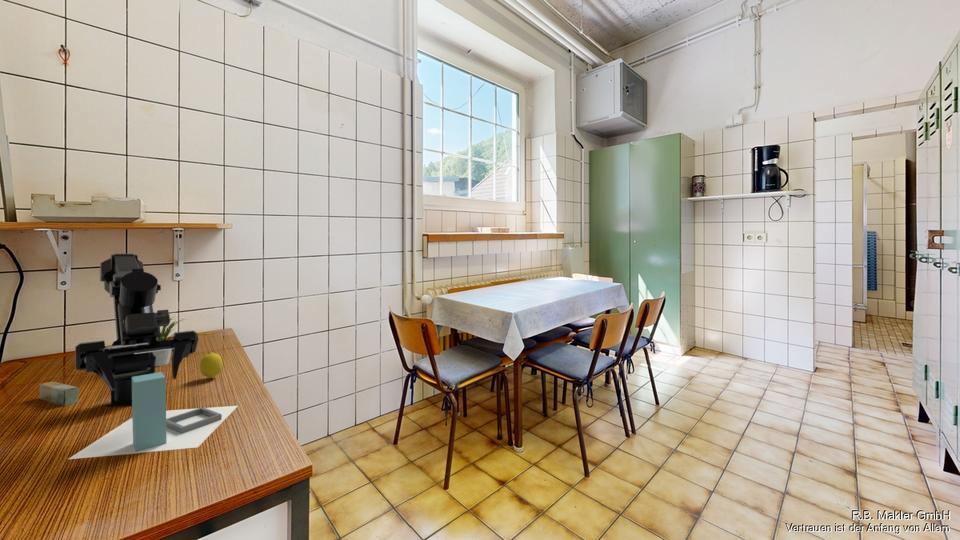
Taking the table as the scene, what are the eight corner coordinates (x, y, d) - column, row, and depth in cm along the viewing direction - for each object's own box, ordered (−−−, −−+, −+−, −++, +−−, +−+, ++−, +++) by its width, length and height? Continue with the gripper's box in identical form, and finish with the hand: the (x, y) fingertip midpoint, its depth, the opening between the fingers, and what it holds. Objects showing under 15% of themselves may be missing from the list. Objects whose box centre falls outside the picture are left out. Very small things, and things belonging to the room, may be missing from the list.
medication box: (79, 403, 93) (79, 387, 93) (64, 406, 91) (64, 390, 91) (53, 395, 98) (53, 380, 98) (38, 399, 95) (38, 383, 95)
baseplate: (67, 464, 66) (67, 459, 66) (139, 416, 86) (139, 412, 86) (197, 452, 71) (197, 447, 71) (238, 409, 91) (238, 405, 91)
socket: (162, 425, 80) (162, 419, 80) (202, 412, 87) (202, 407, 86) (181, 433, 76) (181, 428, 76) (221, 419, 83) (221, 414, 83)
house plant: (189, 355, 136) (188, 310, 135) (192, 364, 126) (191, 315, 125) (135, 362, 127) (134, 314, 126) (134, 372, 116) (133, 320, 115)
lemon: (207, 375, 115) (207, 349, 114) (226, 375, 115) (226, 349, 115) (195, 381, 109) (195, 354, 109) (215, 381, 109) (215, 354, 109)
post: (132, 443, 72) (131, 377, 72) (162, 435, 75) (161, 371, 75) (135, 451, 69) (134, 382, 69) (166, 443, 72) (165, 377, 72)
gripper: (74, 301, 71) (76, 372, 64) (195, 294, 85) (208, 352, 78) (74, 336, 76) (77, 404, 69) (188, 324, 90) (200, 380, 83)
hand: (145, 383), depth 75 cm, fingers open, 9 cm apart
